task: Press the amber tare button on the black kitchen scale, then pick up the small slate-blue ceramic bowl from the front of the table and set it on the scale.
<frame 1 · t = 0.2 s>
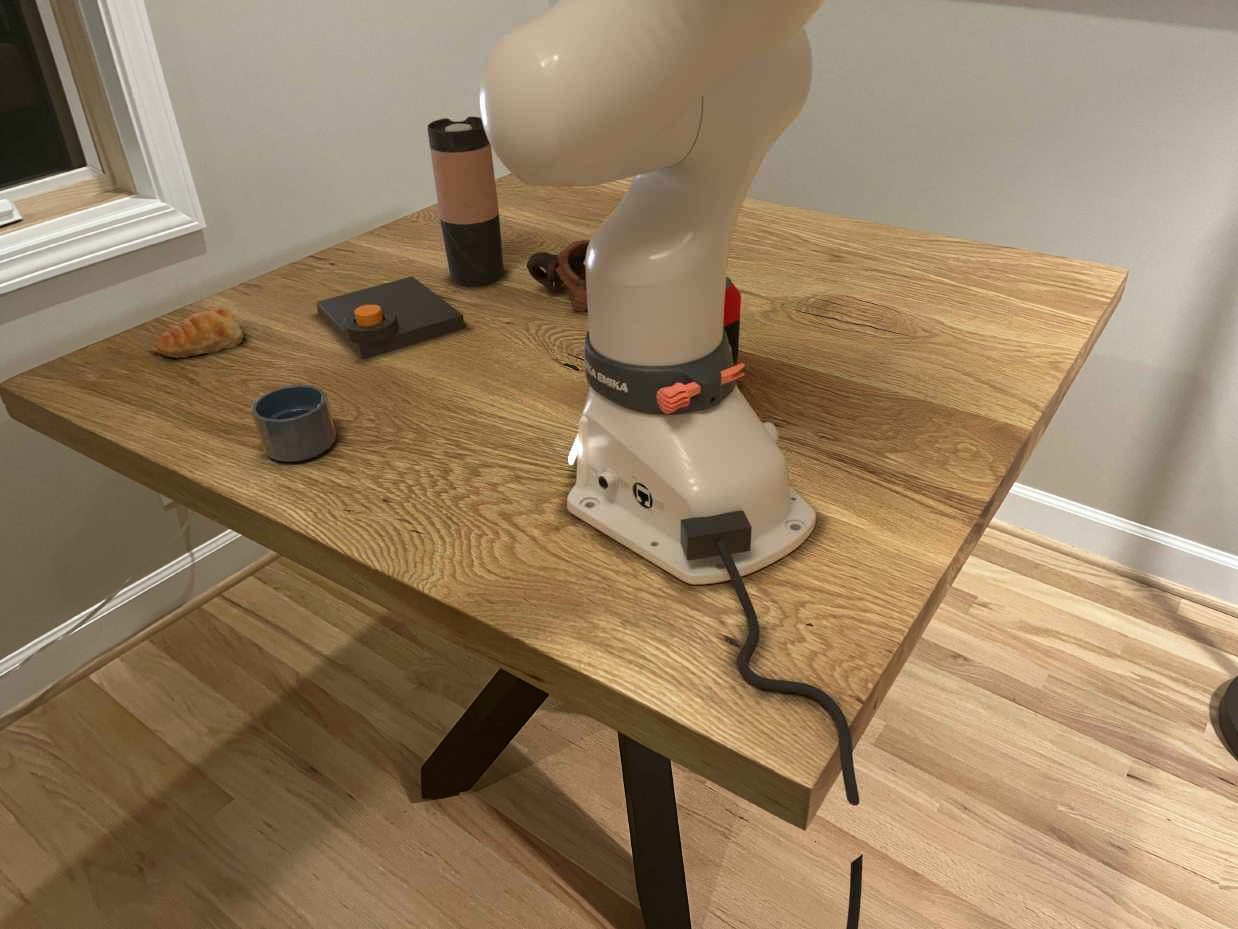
pastry: (207, 346, 108), on the table
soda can: (700, 390, 95), on the table
scale: (390, 322, 111), on the table
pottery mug: (576, 298, 115), on the table
travel mug: (477, 278, 122), on the table
bowl: (301, 446, 88), on the table
tare button: (368, 315, 104), point 4 cm above the table, slide at 0.1 cm
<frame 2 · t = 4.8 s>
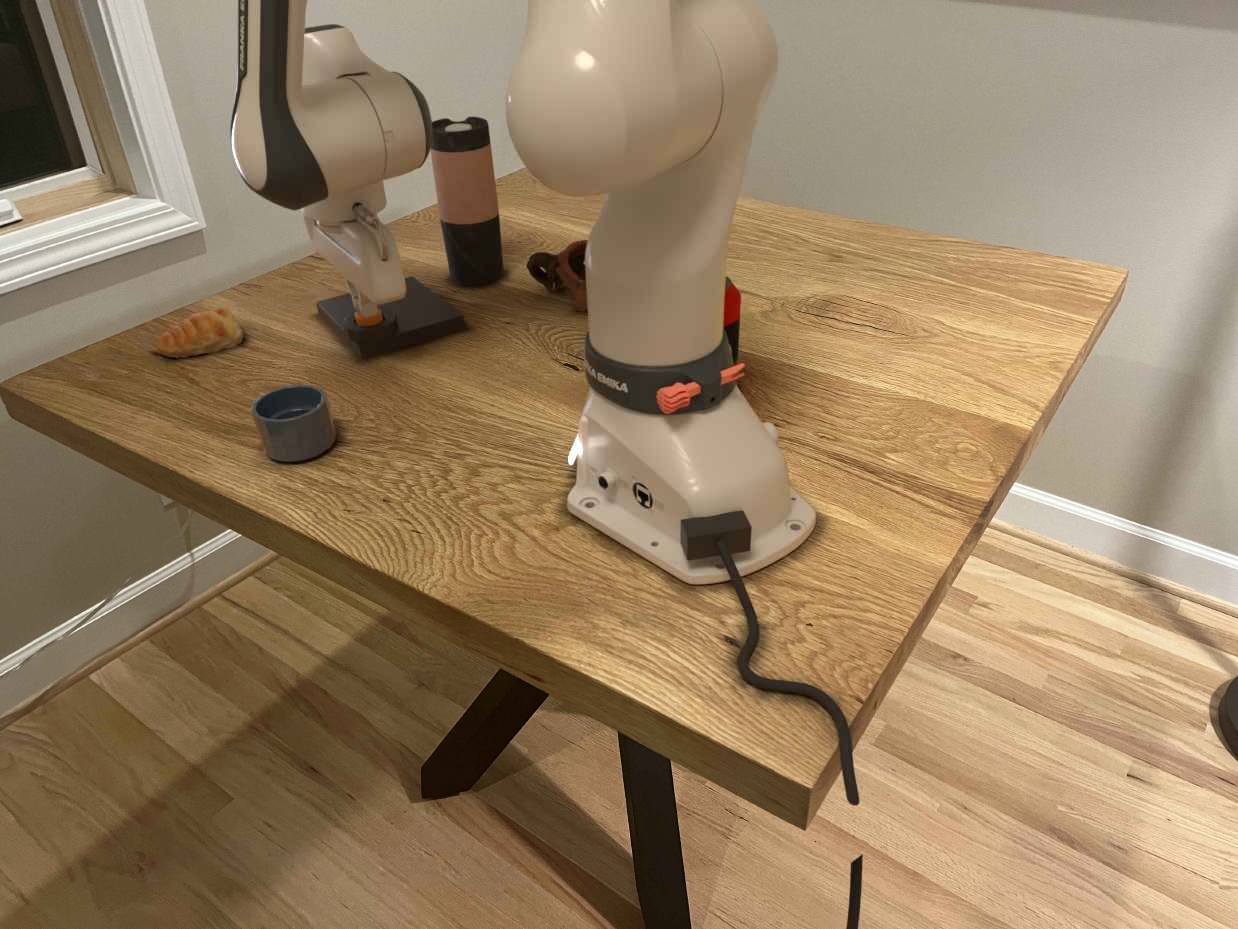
hand: (366, 312, 103), 4 cm above the table, tool pointing down, fingers closed, pressing on tare button
tare button: (369, 318, 104), point 4 cm above the table, slide at -0.3 cm, touching gripper
everything else where it was.
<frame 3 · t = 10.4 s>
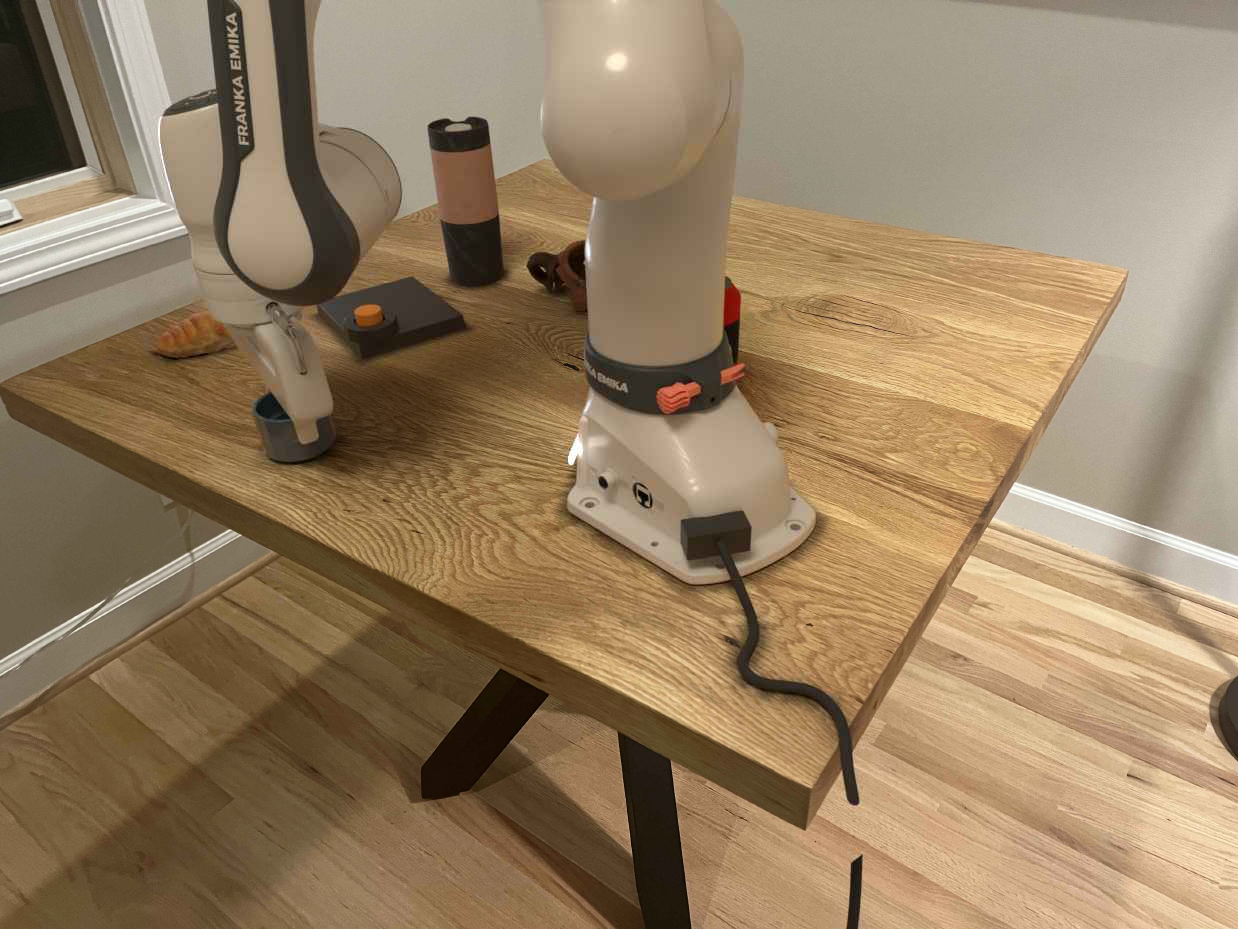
hand: (294, 420, 87), 3 cm above the table, tool pointing down, fingers closed on bowl, 7 cm apart
bowl: (301, 446, 88), on the table, touching gripper
tare button: (368, 315, 104), point 4 cm above the table, slide at 0.1 cm
everything else where it was.
when the fingers open (5 cm above the table, at t = 17.8 s): bowl stays where it is, resting on scale.
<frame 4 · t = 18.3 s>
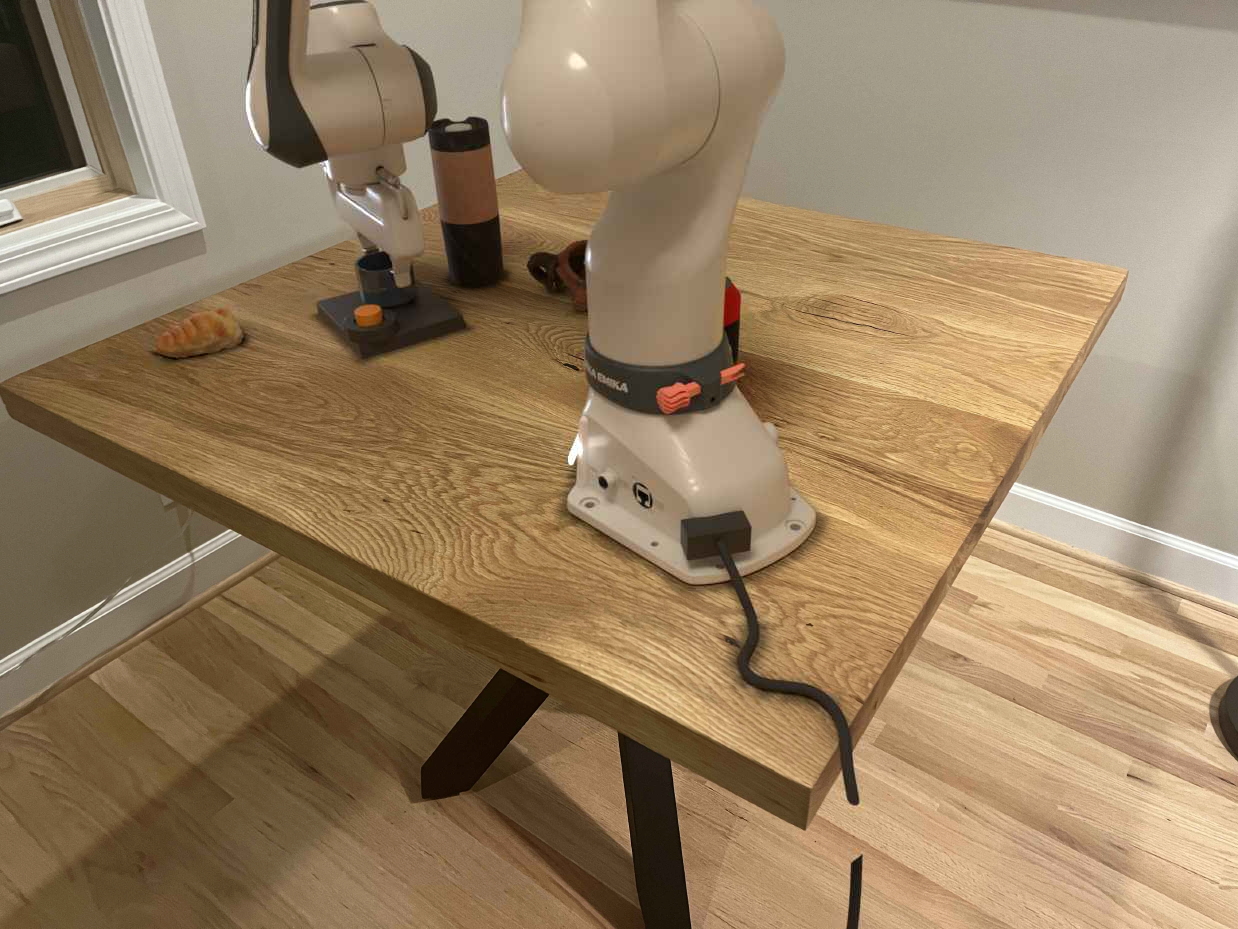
hand: (387, 272, 110), 5 cm above the table, tool pointing down, fingers open, 8 cm apart
bowl: (390, 298, 112), point 2 cm above the table, touching scale
everything else where it was.
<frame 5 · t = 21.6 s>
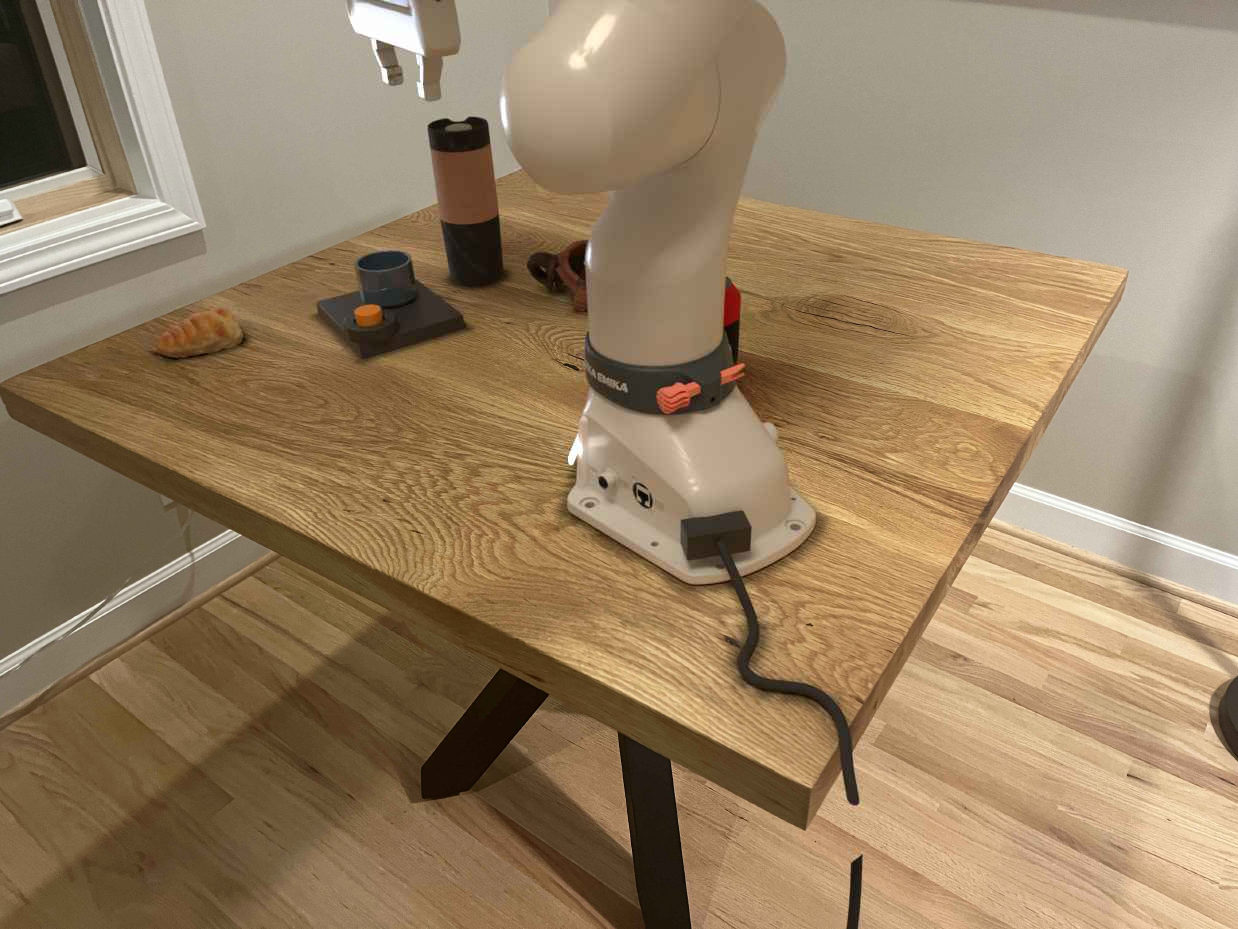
hand: (411, 91, 94), 27 cm above the table, tool pointing down, fingers open, 8 cm apart
nothing on the table moved.
at the end: tare button pushed in 0.8 cm at the most during the clip, back to where it started at the end; tare button slide at 0.1 cm; bowl inside the target area on the scale (2.8 cm from its centre), point 1.9 cm above the scale's base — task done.
